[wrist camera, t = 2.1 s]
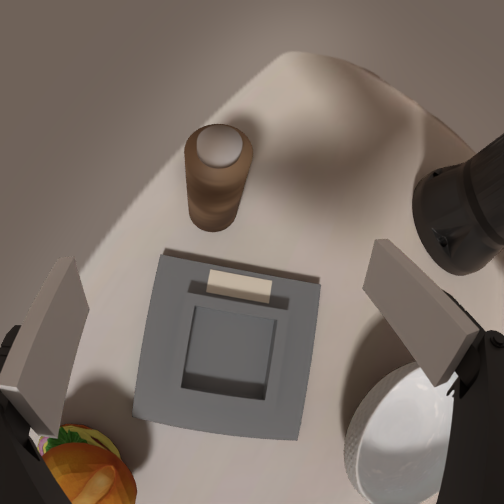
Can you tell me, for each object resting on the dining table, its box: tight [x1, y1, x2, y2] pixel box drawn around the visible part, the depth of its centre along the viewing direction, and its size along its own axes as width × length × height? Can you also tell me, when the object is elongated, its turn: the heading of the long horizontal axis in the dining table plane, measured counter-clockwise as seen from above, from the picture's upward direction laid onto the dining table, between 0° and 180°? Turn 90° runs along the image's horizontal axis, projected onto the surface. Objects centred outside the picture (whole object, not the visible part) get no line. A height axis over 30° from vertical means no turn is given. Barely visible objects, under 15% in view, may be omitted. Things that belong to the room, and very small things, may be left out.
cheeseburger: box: [37, 424, 137, 504], centre depth 20 cm, size 10×11×10 cm
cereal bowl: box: [344, 361, 458, 504], centre depth 25 cm, size 17×17×7 cm
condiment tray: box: [132, 254, 321, 441], centre depth 27 cm, size 16×16×2 cm
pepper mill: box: [184, 124, 253, 232], centre depth 26 cm, size 5×5×12 cm
